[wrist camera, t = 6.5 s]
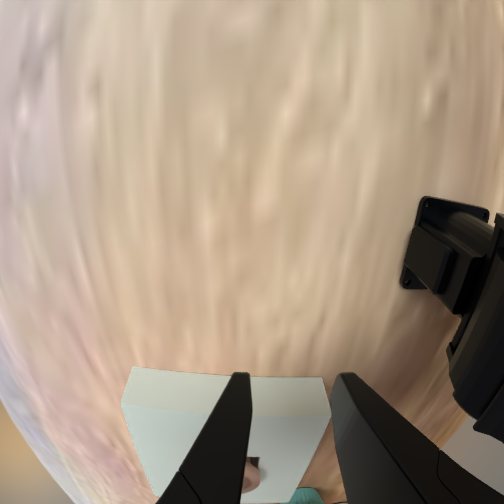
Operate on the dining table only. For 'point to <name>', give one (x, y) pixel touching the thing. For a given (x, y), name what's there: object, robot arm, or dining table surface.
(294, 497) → the cupcake
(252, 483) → the button
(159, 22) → the dining table surface
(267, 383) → the button box
